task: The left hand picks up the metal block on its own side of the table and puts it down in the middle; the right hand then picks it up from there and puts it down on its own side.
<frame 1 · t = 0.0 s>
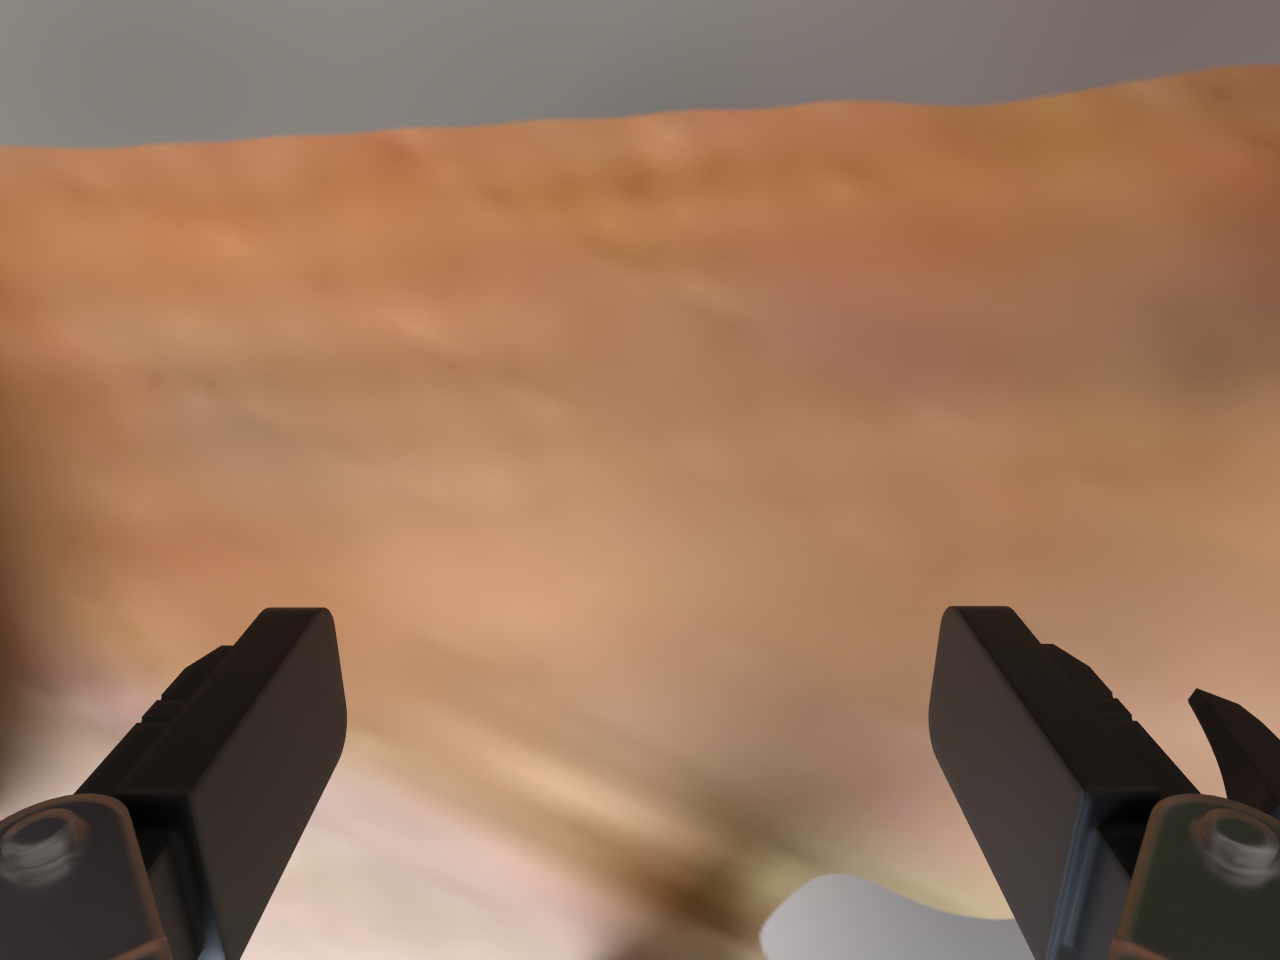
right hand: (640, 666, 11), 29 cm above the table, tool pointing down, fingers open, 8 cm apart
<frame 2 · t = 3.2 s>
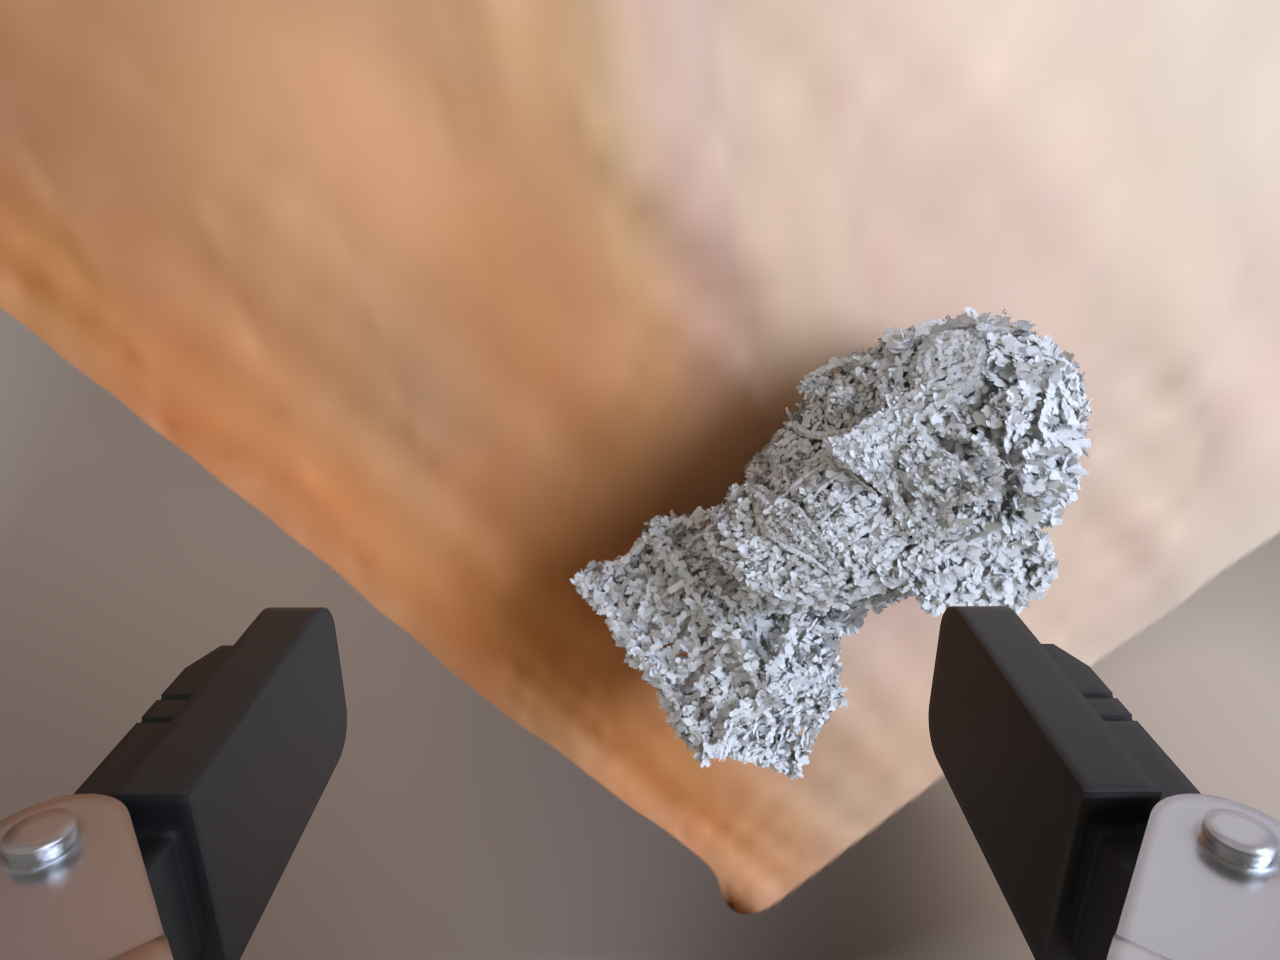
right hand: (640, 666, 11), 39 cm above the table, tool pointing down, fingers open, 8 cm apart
rock: (807, 467, 52), on the table
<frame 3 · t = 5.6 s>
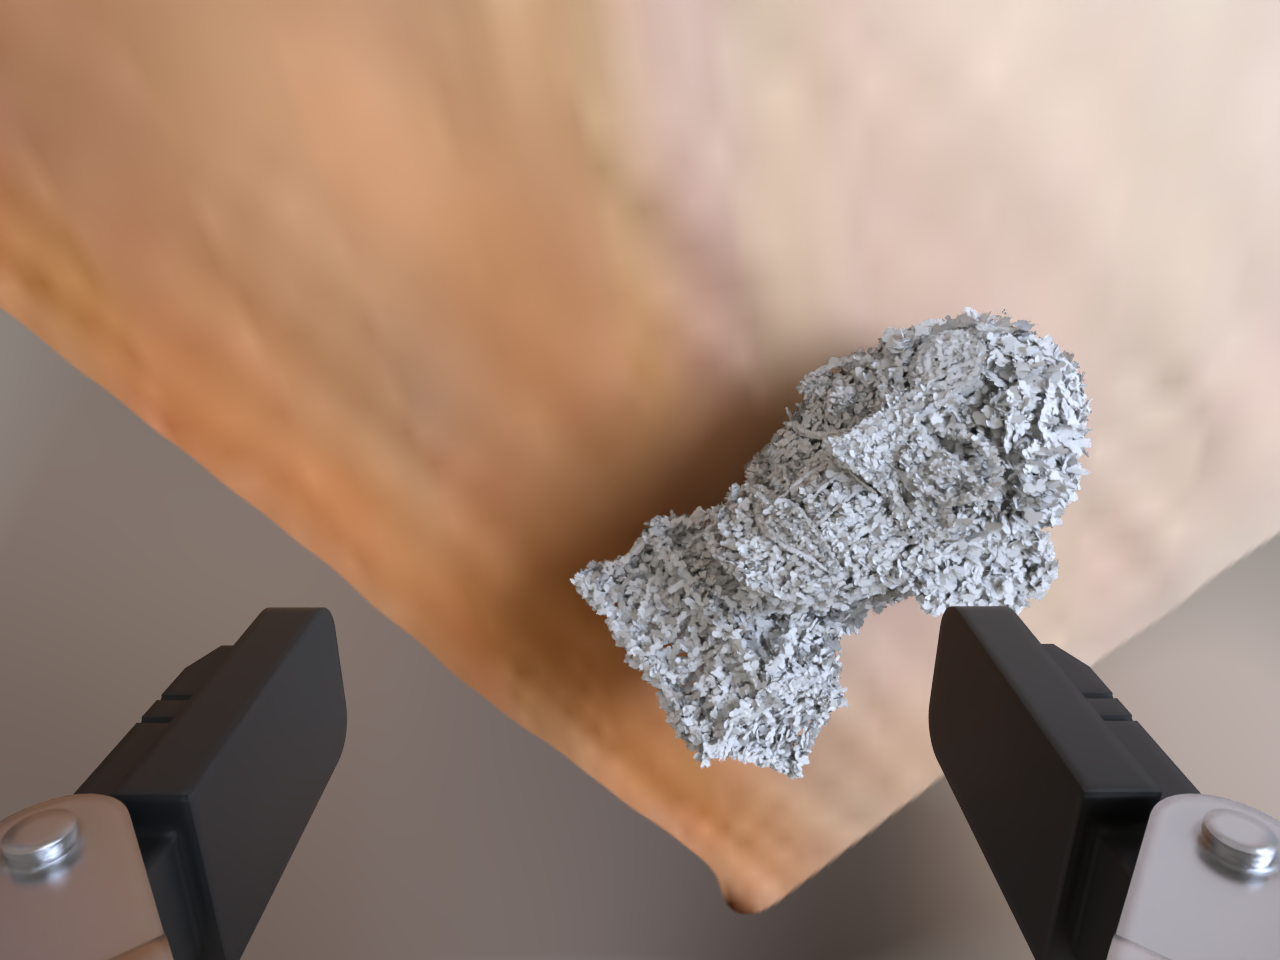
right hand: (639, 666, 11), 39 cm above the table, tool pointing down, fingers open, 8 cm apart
rock: (807, 467, 52), on the table
when the left hand's fingers open (2 cm above the table, at t = 8.4 s): block stays where it is, on the table.
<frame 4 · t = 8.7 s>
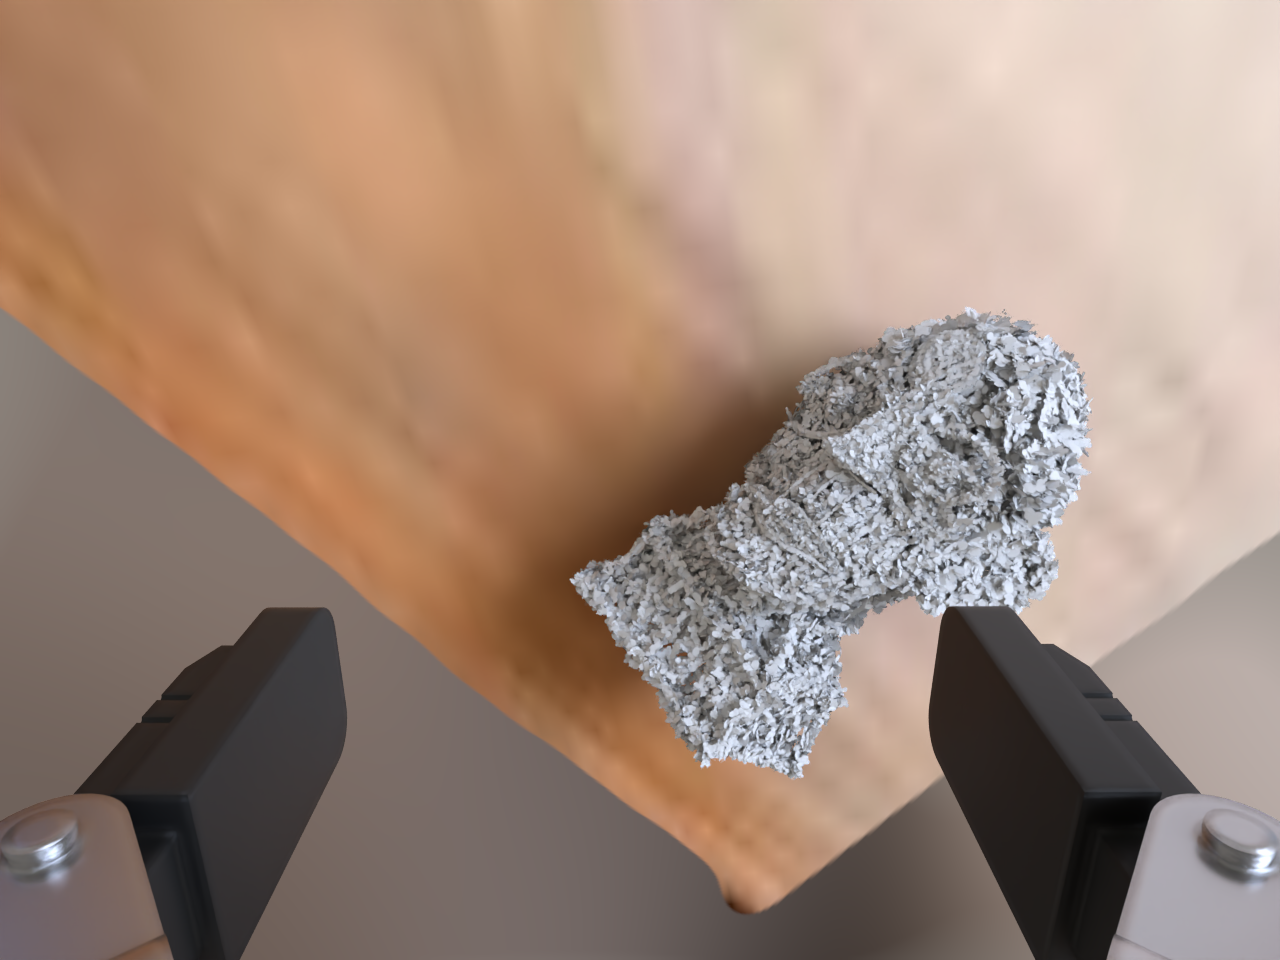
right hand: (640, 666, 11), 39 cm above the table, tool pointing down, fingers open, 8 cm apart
rock: (807, 467, 52), on the table
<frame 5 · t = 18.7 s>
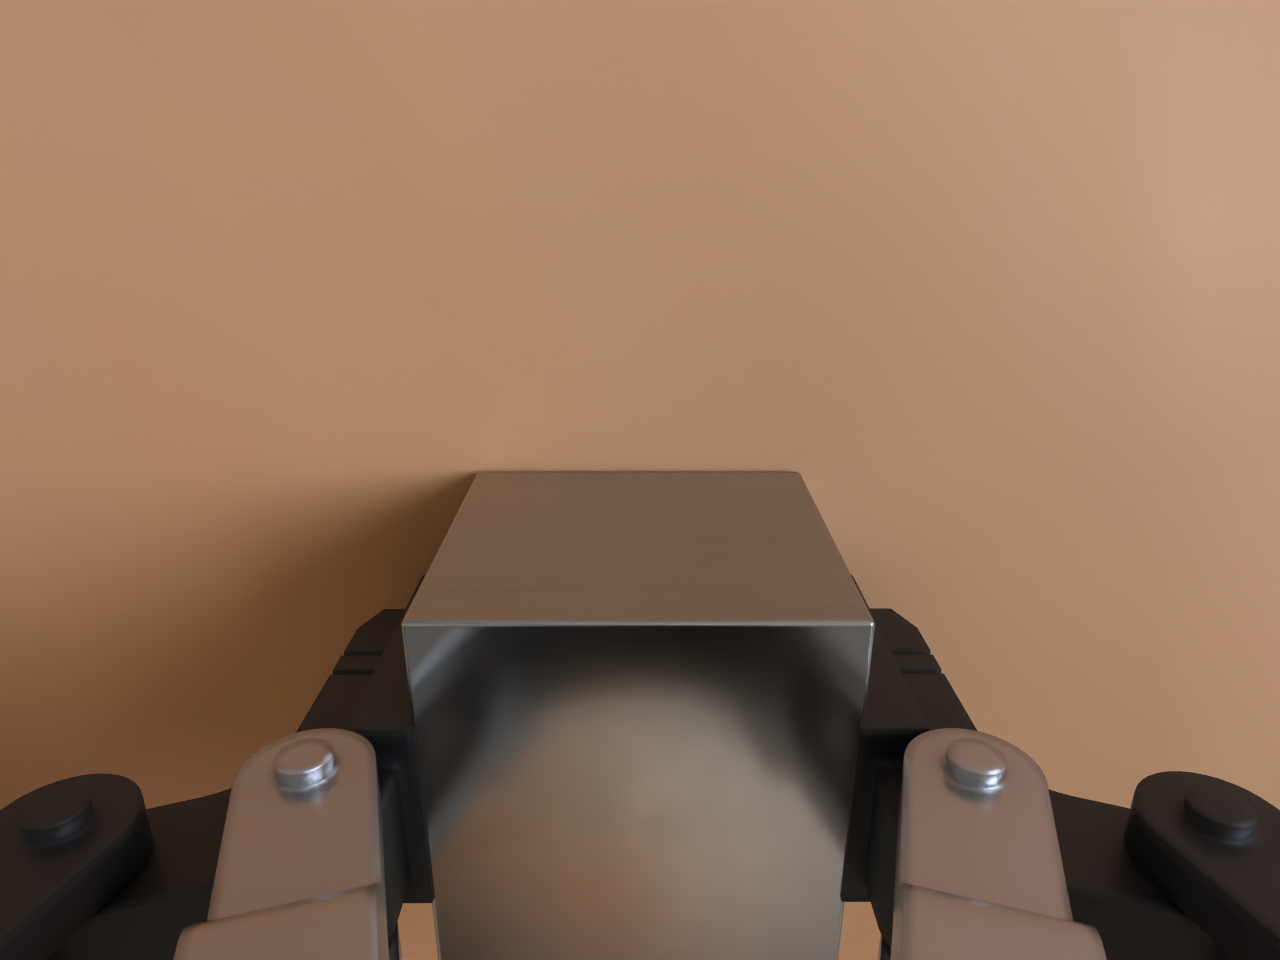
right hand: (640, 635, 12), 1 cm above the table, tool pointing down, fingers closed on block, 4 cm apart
block: (638, 620, 13), on the table, touching right hand
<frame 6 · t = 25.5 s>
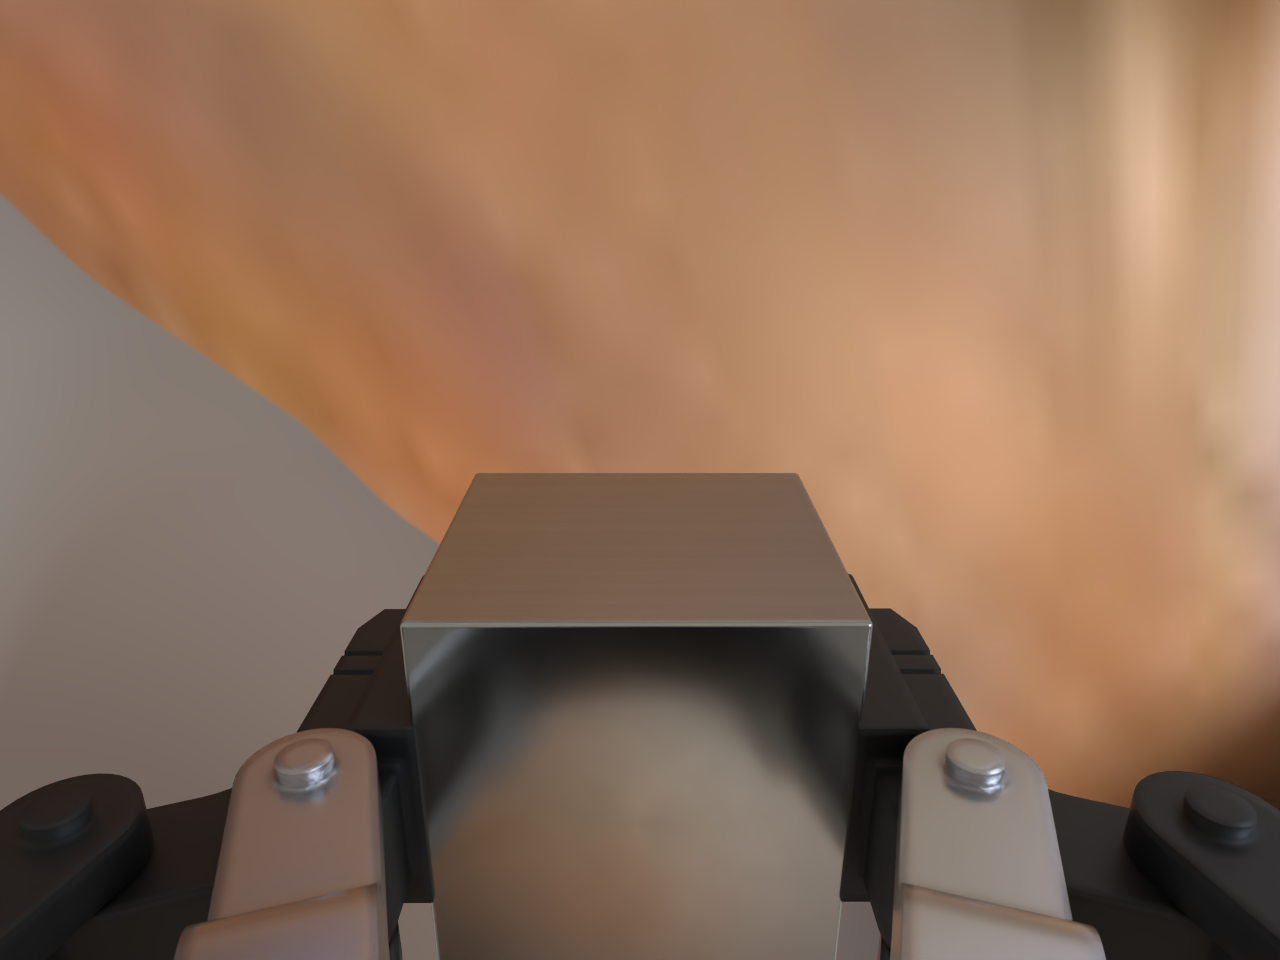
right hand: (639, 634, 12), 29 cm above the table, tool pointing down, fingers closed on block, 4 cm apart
block: (637, 620, 13), point 28 cm above the table, touching right hand
when the right hand's fingers open (1 cm above the table, at t = 32.7 s): block stays where it is, on the table.
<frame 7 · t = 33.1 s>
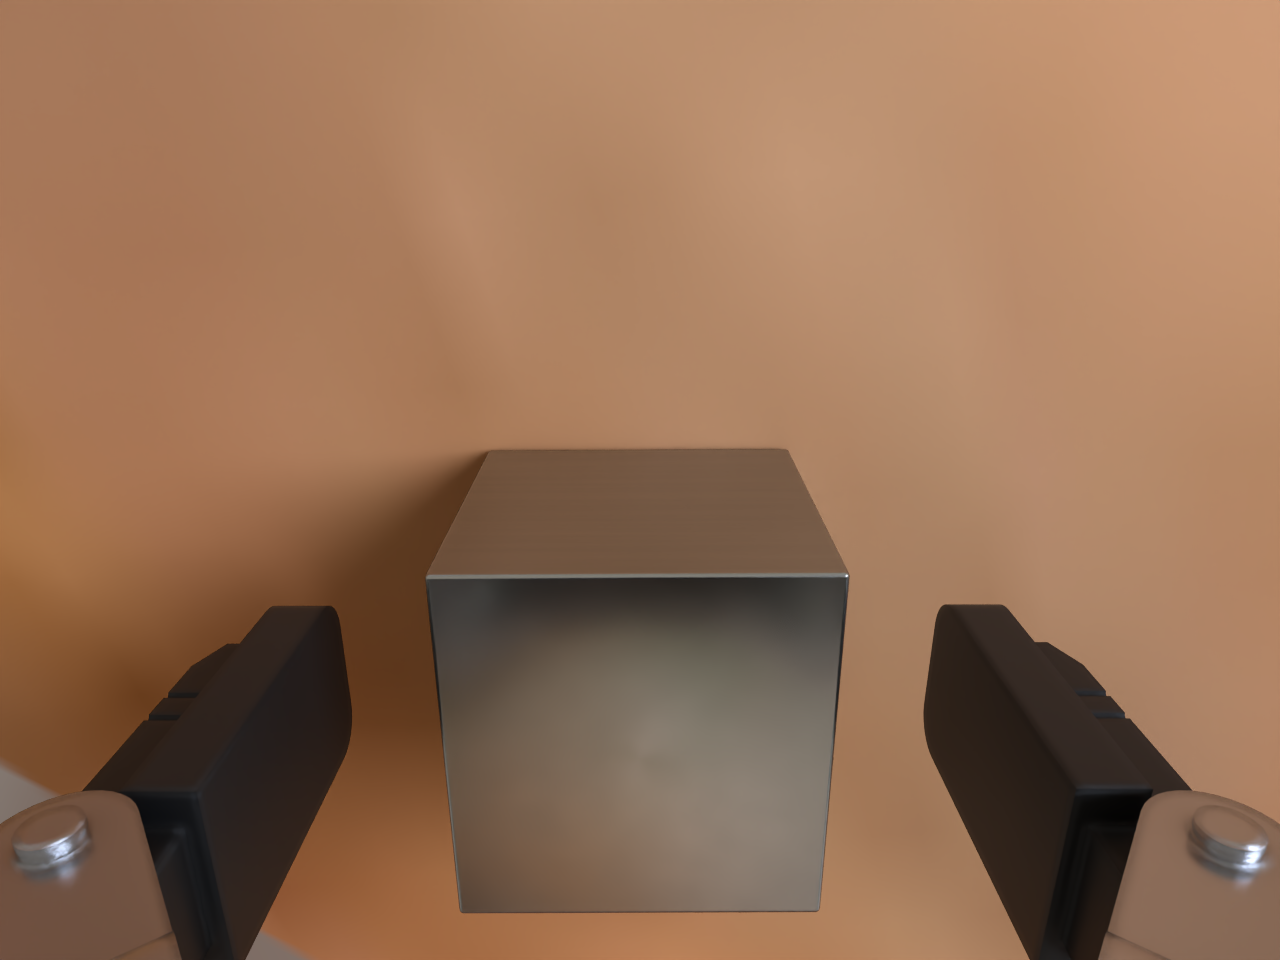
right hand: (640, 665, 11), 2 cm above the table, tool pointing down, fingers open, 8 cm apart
block: (639, 589, 14), on the table
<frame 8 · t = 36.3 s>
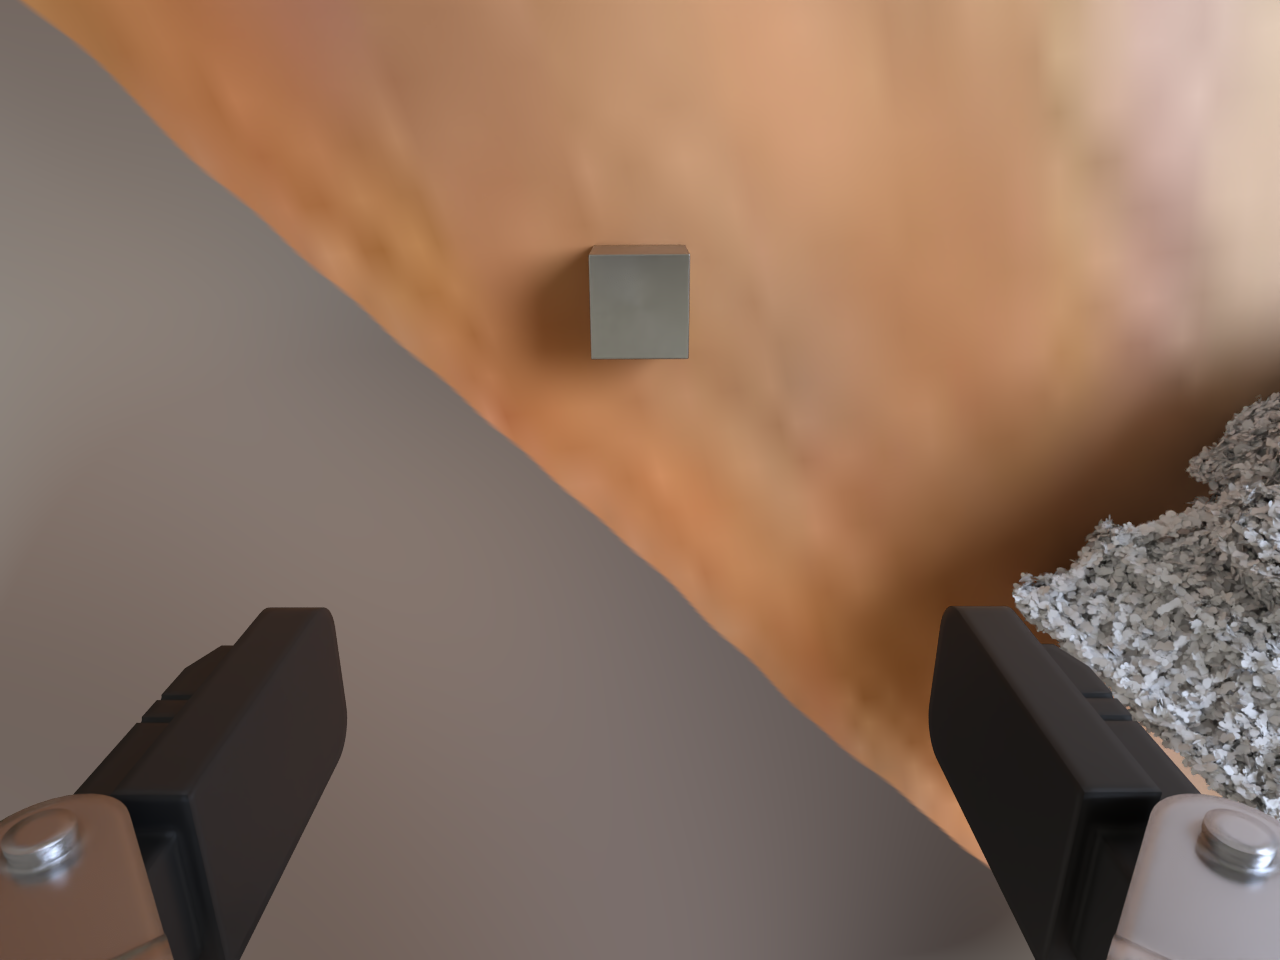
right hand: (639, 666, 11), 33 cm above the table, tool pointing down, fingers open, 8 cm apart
block: (639, 294, 42), on the table
rock: (1234, 465, 45), on the table
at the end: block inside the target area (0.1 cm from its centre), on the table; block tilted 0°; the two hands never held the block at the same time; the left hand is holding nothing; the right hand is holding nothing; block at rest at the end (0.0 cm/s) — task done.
